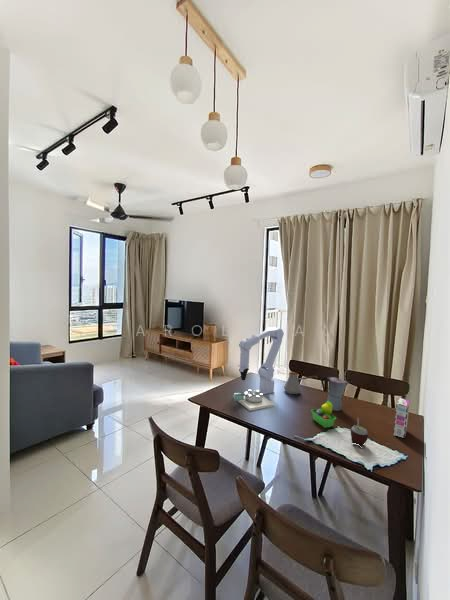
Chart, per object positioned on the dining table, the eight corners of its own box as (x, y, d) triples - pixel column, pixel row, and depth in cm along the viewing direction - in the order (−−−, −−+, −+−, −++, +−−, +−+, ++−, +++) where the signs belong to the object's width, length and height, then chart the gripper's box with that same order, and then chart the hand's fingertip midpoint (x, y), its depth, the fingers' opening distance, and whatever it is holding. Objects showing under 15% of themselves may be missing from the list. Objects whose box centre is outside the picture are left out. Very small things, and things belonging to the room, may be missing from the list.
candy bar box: (405, 440, 127) (408, 406, 127) (393, 435, 131) (395, 403, 130) (407, 431, 136) (410, 400, 135) (395, 427, 139) (398, 397, 138)
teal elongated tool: (256, 394, 168) (256, 387, 168) (265, 401, 158) (266, 393, 158) (230, 397, 160) (230, 390, 160) (238, 405, 150) (239, 397, 150)
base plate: (255, 393, 173) (256, 391, 173) (273, 406, 156) (274, 403, 156) (233, 397, 165) (233, 395, 165) (249, 410, 148) (249, 408, 148)
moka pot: (348, 413, 152) (351, 379, 151) (320, 409, 155) (323, 376, 154) (344, 406, 162) (347, 374, 161) (318, 402, 165) (320, 371, 164)
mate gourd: (361, 440, 125) (364, 409, 124) (371, 450, 117) (374, 417, 116) (346, 440, 124) (348, 408, 124) (354, 450, 116) (357, 417, 116)
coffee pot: (281, 392, 178) (282, 370, 177) (287, 387, 187) (288, 367, 187) (313, 401, 166) (315, 378, 165) (317, 396, 176) (319, 373, 175)
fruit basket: (309, 418, 143) (311, 398, 143) (322, 416, 146) (324, 396, 146) (324, 429, 133) (326, 407, 132) (338, 427, 136) (339, 405, 135)
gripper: (241, 355, 176) (240, 375, 177) (235, 360, 162) (234, 382, 163) (251, 356, 174) (250, 376, 175) (246, 362, 160) (245, 384, 161)
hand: (243, 379), depth 169 cm, fingers closed
